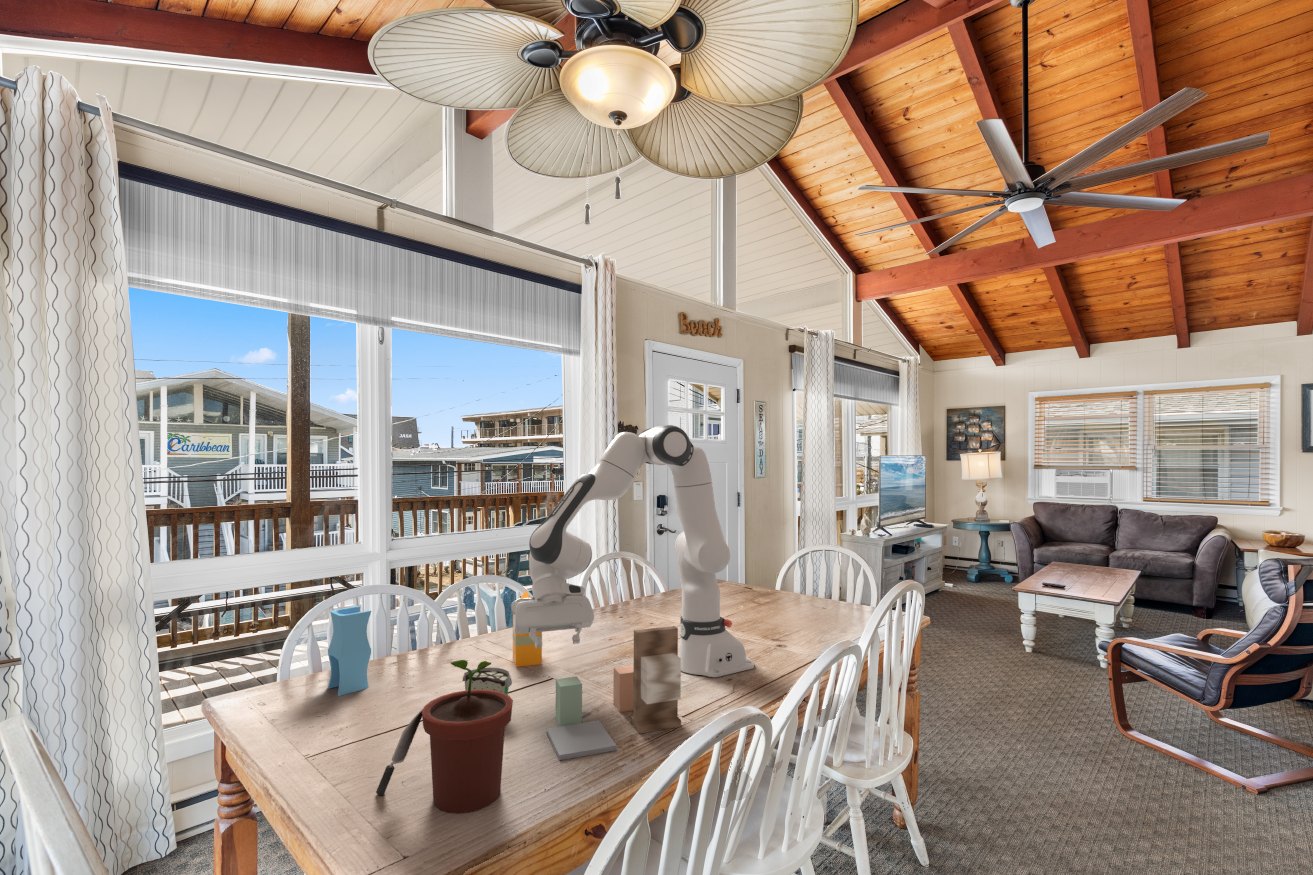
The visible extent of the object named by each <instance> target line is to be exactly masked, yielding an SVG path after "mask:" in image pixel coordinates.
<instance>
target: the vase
mask: <svg viewBox="0 0 1313 875" xmlns="http://www.w3.org/2000/svg"><path fill="white" fill-rule="evenodd" d="M371 613H372V610H370V609H369V610H364V611H361V606H360V605H357V606H350V607H345V608H339V609H338V608H337V609H334V610H331V611H330V616H331V620H332V630H333V631H332V636H331V641H330V644H329V647H328V648H327V655H328V660H329V664H330V675H329V681H328V684H327V689H333V688H336V687H338V691H337V697H338V696H339V697H341V696H345V695H348V694H353V693H357V692H359V691H364V690H366V689H368V688H370V687H369V681H368V680H369V679H368V668H369V667H368V666H369V662H370V659H371V655H372V648H371V646H370V643H369V640H368V632H367V631H368V623H369V620H370V617H371Z"/></svg>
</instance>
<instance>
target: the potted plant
mask: <svg viewBox="0 0 1313 875" xmlns="http://www.w3.org/2000/svg"><path fill="white" fill-rule="evenodd" d="M468 663H469V662H468V660H466V659H459V660H455V661H452V662H450V665H452V666H454V667H455V668H459V669H461V670H464V671H466V672H468V671H469V673H470V678H469V686H468V690H465V689H464V690H461V691H454V692H451V693H447V694H444V695H441V696H439V697H436V698H434V699H432V700H430V701H429V702H428V703H426V704H425V705H424V706H423V708H422V709H421V710H419V712H417V713H416V714H415V716H414V717H412V720H411V721H409V723H408V725H407V726H406V727H405V728H404V730H403V731H402V733H401V736H400V738H399V741H398V742H397V745H396V748H395V749H394V750H395V751H394V753H393V755H392V757H391V762H390V764H388V765H386V767H385V769H384V771H383V774H382V777H381V779H380V781H379V784H378V785H377V786H378V787H377V788H376V790H375V793H376V794H377V795H378V796H383V795H385V792H386V791H387V788H388V786H389V783H390V781H391V778H392V776H393V774H394V771H395V766H394V765H396V764H401V763H404V761H405V759H406V757H407V755H408V752H409V749H410V748H411V744H413V743H412V742H413V740H414V738H415V735H416V733H417V731H418V728H419V727H420V726H419V725H420V723H421V720H422V727H423V728H422V729H423V730H424V732H425V733H426V734H428V736H429V742H430V743H429V745H430V764H431V766H430V767H431V781H432V782H431V783H432V800H433V804H434V806H435V807H436V808H437V809H438V810H439V811H442V812H444V813H449V814H467V813H472V812H475V811H476V812H477V811H480V810H482V809H484V808H486V807H489V806H490V805H492V804H493V803H494V802H496V801H497V800H498V798H499V796H500V795H501V788H502V787H501V786H502V784H501V783H502V775H503V774H502V772H503V758H504V748H505V747H504V745H505V733H506V732H505V730H506V727H507V726H508V725H509V723H510V722H511V720H512V712H513V703H514V700H513V698H512V697H511V696H510V695H509V694H508V695H507V694H505V693H503V692H498V691H494V690H481V689H478V690H471V683H472V677H473V675H474V674H475V673H476V672H478V671H480V670H482V669H484V668H488V667H489V666H490V665H492V662H490V661H486V660H484V661H480V662H479V663H478V665H477V667H476V668H475V669H476V671H474V672H473V673H472V672H471V670H472V669H470V668H467V667H468Z"/></svg>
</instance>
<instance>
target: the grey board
mask: <svg viewBox="0 0 1313 875" xmlns="http://www.w3.org/2000/svg"><path fill="white" fill-rule="evenodd" d="M546 735H547V738H548V739H549V742H550V744H551V746H552V748H553V750H554V752H555V754H556V756H557V758H558V760H559V761H563V760H570V759H576V758H580V757H586V756H591V755H597V754H603V753H608V752H609V753H610V752H613V751H617V744H616V742H615V741H614V740H613V739H612V737H611V735H610V733H609V732H608V731H607V730H606V728H605V726H604V725H603V724H602V723H601V720H599V719H598V720H590V721H586V722H585V721H584V722H582V723H578V724H572V725H566V726H554V727H547V728H546Z"/></svg>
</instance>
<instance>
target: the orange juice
mask: <svg viewBox="0 0 1313 875" xmlns="http://www.w3.org/2000/svg"><path fill="white" fill-rule="evenodd" d="M520 598H522V599H525V598H531V596H530V594H529V592H528V591H527V590H524V592H523V593H522V595H521V597H520ZM535 634H536V636H537V637H538V638H542V639H543V632H536V633H535ZM542 655H543V646H542V647H540V648H536V647H535V642H534V641H533V640H532V639H531V638H530V637H529V633H526V634H517V633H516V632H515V631H514V614H513V613H512V660H513V663H514V667H515V668H517V667H527V666H536V665H537V666H538V665H539V666H540V665H542V664H543V661H542V659H543V656H542Z"/></svg>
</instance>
